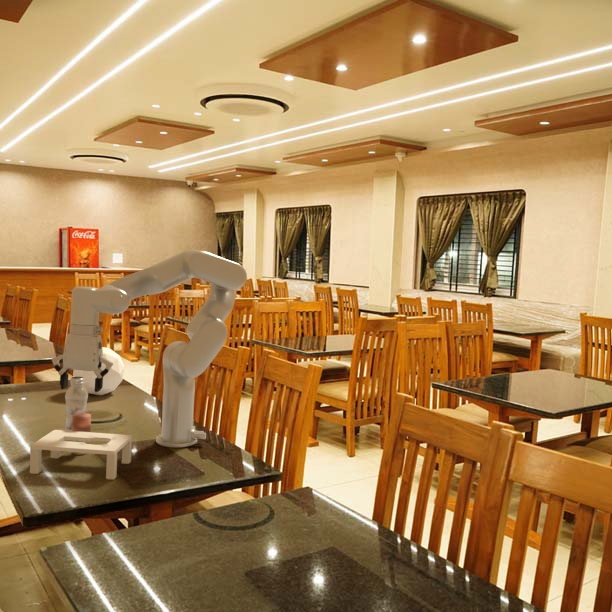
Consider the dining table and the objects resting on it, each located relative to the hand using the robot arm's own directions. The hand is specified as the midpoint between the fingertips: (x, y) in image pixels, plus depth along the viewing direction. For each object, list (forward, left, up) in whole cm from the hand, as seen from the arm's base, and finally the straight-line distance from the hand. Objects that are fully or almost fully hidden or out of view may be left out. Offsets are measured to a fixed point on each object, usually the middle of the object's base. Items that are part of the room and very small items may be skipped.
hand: (81, 389), depth 173 cm
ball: (+21, -69, -19) cm, 75 cm away
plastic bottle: (+5, -8, -19) cm, 21 cm away
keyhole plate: (-5, +11, -19) cm, 22 cm away
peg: (0, 0, -19) cm, 19 cm away
